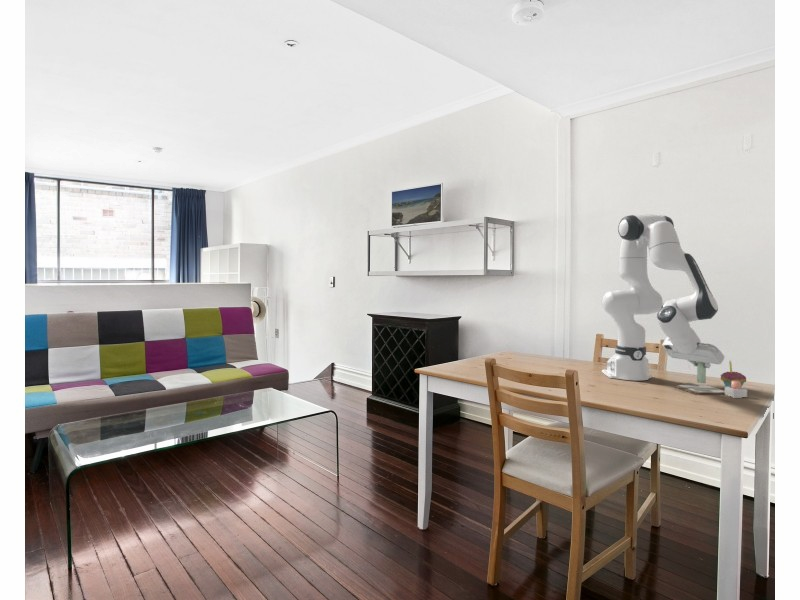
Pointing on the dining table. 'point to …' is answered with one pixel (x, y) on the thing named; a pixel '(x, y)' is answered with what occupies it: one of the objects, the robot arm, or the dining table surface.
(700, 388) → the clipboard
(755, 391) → the dining table surface
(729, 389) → the button housing
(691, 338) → the robot arm
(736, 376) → the cupcake
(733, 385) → the button
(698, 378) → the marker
